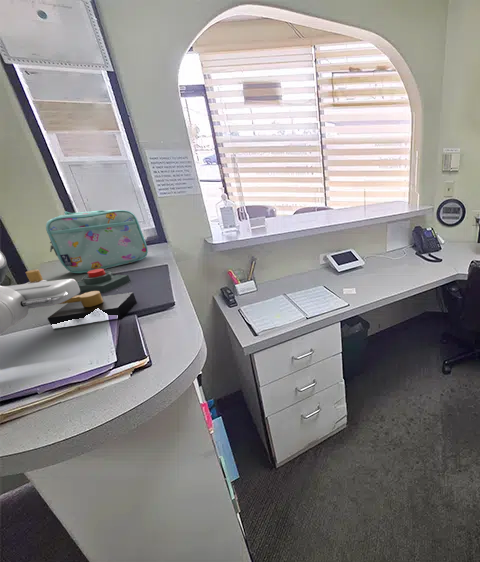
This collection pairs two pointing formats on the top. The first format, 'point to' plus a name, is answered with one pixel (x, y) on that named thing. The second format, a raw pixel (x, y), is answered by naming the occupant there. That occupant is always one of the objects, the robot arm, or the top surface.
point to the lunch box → (96, 239)
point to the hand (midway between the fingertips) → (39, 283)
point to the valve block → (110, 305)
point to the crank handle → (86, 298)
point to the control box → (102, 282)
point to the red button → (96, 273)
